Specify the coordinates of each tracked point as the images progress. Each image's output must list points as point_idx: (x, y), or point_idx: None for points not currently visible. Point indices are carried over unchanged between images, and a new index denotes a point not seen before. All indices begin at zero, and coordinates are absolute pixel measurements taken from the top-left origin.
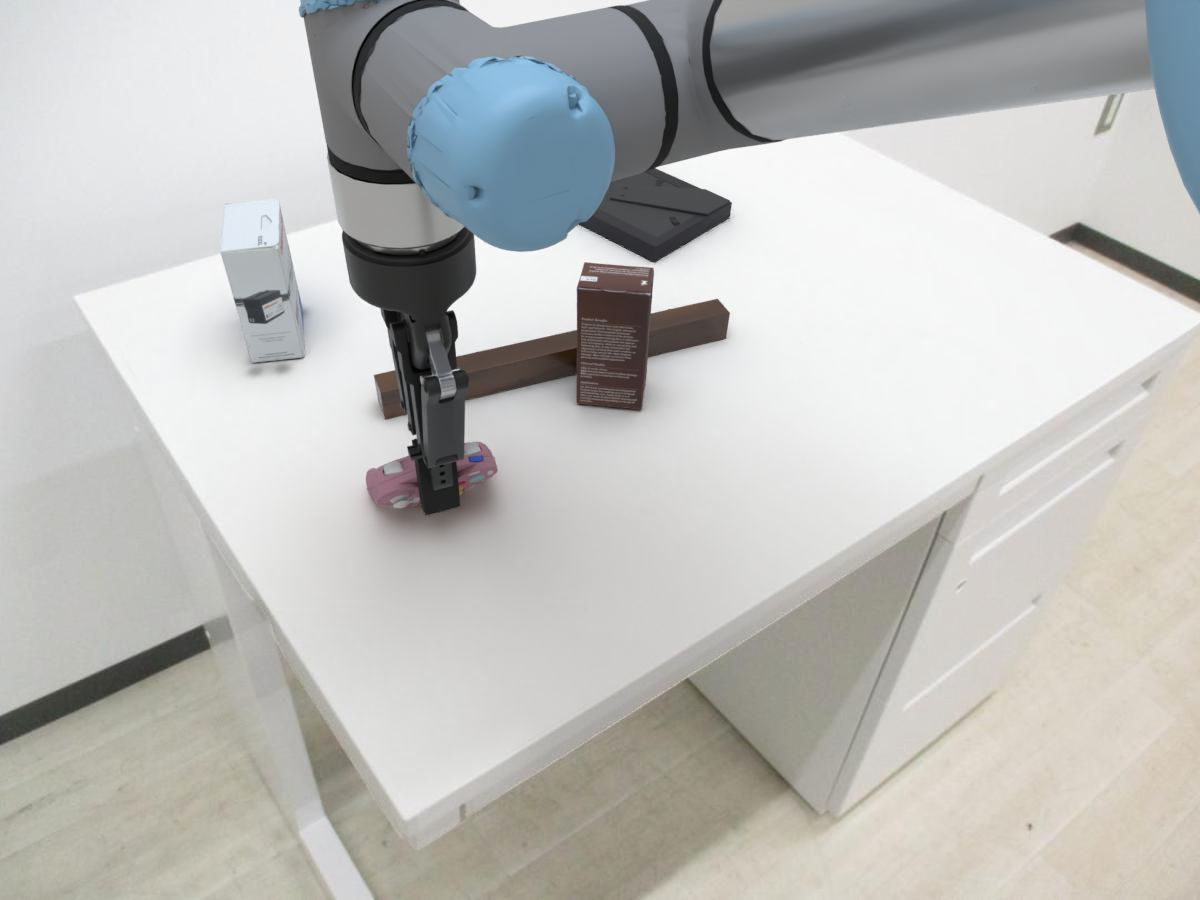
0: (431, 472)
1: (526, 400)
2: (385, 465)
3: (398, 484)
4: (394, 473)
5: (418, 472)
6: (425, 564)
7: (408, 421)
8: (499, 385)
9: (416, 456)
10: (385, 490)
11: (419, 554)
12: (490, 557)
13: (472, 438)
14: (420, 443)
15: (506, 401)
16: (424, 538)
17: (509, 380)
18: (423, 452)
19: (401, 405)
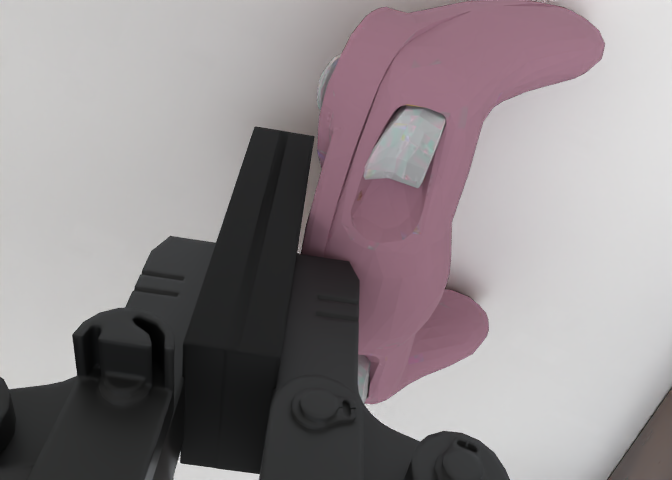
0: (145, 301)
1: (572, 452)
2: (437, 136)
3: (333, 130)
4: (373, 147)
5: (240, 244)
6: (172, 30)
7: (361, 419)
8: (649, 448)
9: (80, 354)
10: (348, 71)
11: (218, 32)
12: (131, 189)
13: (548, 325)
14: (59, 443)
15: (603, 425)
16: (273, 72)
17: (640, 471)
18: (68, 397)
19: (445, 473)
